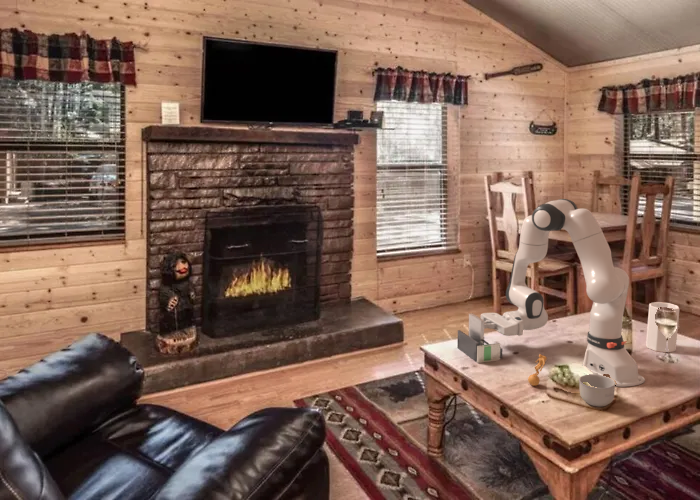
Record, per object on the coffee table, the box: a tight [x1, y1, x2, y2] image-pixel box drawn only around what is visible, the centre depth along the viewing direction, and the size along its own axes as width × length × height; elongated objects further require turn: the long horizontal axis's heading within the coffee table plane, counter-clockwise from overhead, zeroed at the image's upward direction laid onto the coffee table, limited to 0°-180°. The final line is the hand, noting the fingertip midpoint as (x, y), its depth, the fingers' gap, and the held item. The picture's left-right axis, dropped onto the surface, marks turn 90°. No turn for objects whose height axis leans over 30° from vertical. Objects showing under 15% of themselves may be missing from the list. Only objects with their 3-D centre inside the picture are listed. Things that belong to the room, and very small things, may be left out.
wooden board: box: [468, 313, 490, 346], centre depth 215 cm, size 14×2×14 cm, turn 16°
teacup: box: [578, 373, 616, 408], centre depth 175 cm, size 14×11×8 cm
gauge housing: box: [457, 329, 503, 364], centre depth 218 cm, size 18×12×8 cm
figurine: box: [527, 353, 547, 387], centre depth 187 cm, size 8×6×12 cm
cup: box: [645, 301, 680, 353], centre depth 218 cm, size 11×11×18 cm
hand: (481, 325), depth 217 cm, fingers closed
